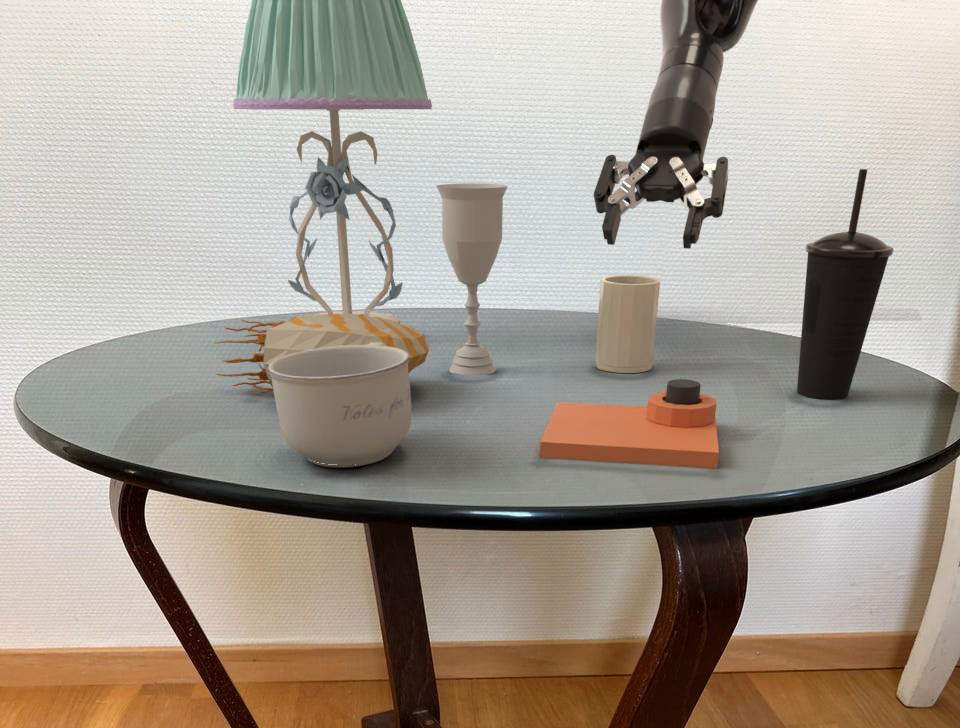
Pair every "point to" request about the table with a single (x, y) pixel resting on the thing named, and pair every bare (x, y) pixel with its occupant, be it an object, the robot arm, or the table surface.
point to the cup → (627, 323)
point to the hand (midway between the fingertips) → (647, 241)
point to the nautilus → (328, 339)
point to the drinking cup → (838, 305)
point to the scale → (635, 433)
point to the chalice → (472, 256)
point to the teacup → (343, 402)
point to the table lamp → (332, 101)
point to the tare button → (683, 392)
